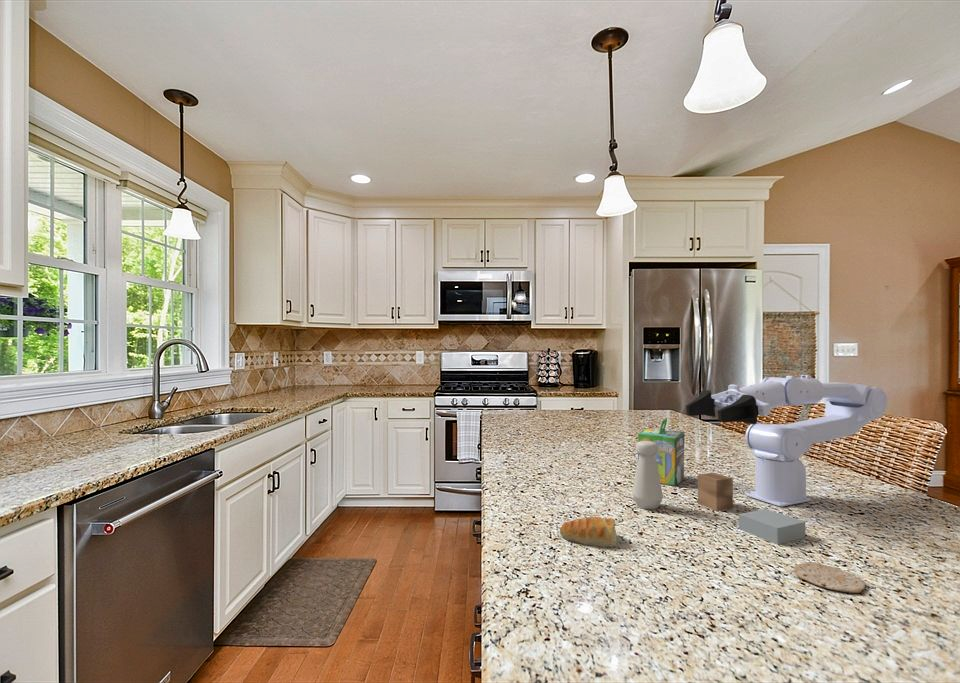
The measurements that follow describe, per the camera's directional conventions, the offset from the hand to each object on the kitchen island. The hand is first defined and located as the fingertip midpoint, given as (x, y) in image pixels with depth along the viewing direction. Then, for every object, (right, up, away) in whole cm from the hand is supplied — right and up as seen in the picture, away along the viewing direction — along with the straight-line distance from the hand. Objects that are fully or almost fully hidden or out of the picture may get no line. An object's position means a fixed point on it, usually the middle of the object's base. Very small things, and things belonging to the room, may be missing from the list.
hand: (703, 413), depth 91 cm
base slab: (+6, -19, -11) cm, 23 cm away
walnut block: (+4, -19, +3) cm, 20 cm away
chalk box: (0, -20, +22) cm, 30 cm away
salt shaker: (-10, -19, +3) cm, 22 cm away
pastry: (-25, -19, -13) cm, 34 cm away
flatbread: (+4, -19, -27) cm, 33 cm away
